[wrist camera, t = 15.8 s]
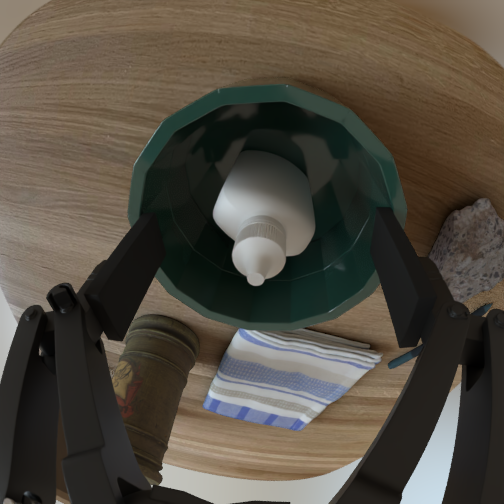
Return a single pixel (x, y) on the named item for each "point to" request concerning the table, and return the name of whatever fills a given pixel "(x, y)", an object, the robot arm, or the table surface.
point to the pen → (416, 351)
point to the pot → (322, 191)
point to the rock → (470, 250)
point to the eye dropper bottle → (265, 213)
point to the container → (153, 386)
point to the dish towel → (286, 375)
